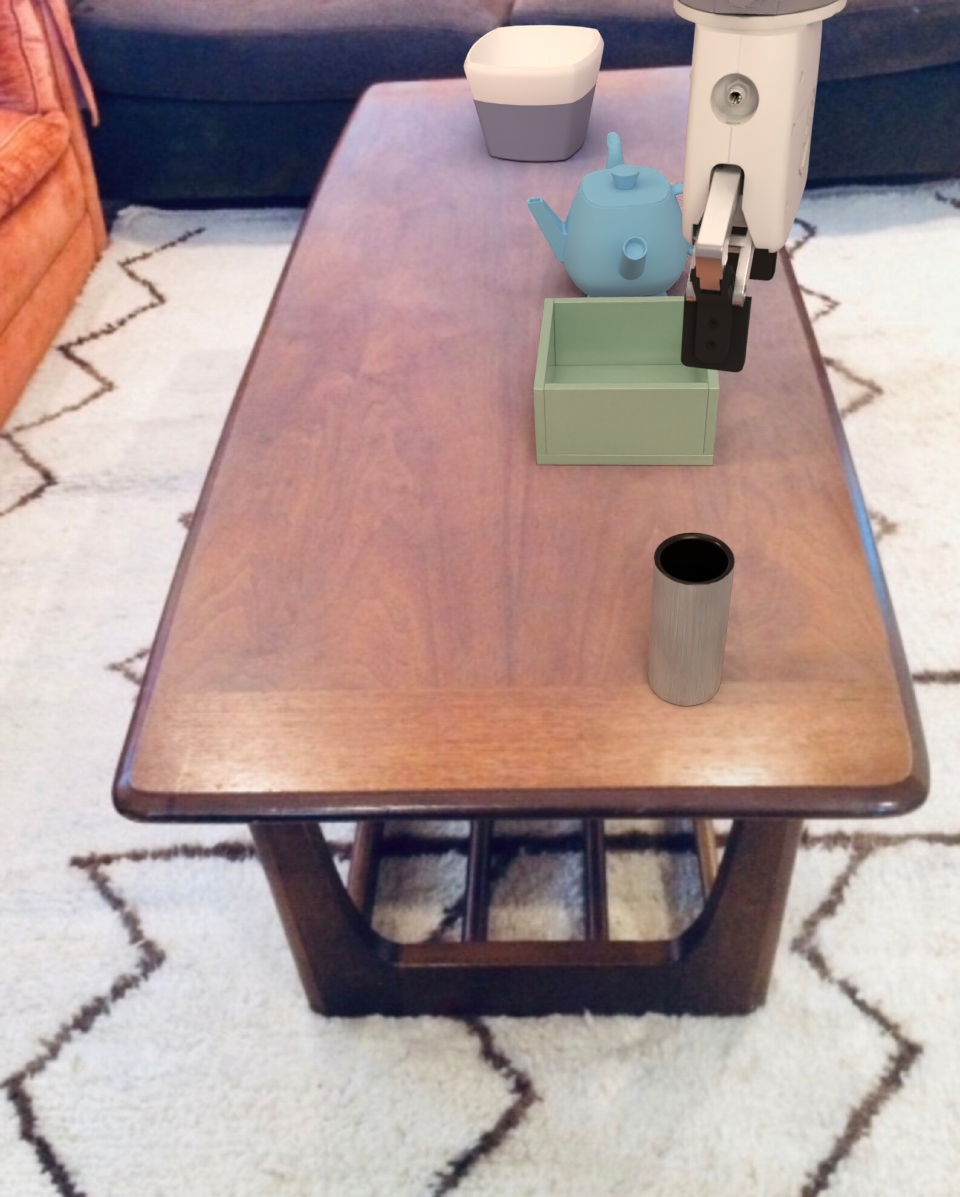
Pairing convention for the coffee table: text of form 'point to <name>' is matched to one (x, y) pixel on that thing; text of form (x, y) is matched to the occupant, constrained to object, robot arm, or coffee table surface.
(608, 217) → the teapot
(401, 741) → the coffee table surface
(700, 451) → the green open box
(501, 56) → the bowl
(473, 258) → the coffee table surface
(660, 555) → the grey hollow cylinder
